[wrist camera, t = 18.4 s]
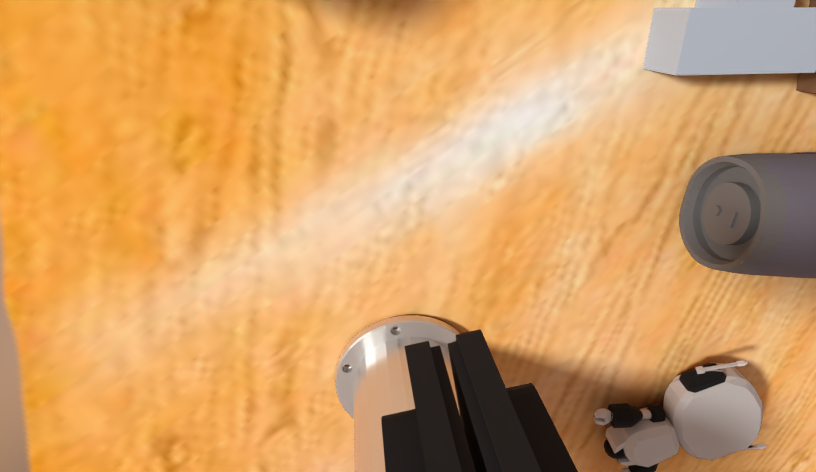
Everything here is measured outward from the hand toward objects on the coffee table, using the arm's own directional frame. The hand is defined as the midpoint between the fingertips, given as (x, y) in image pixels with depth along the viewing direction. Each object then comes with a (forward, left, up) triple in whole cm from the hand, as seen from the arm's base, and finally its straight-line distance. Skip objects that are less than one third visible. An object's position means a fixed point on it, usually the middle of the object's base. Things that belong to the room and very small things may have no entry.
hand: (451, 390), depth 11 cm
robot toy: (-34, -23, -28) cm, 49 cm away
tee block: (+4, -25, -27) cm, 37 cm away
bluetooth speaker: (-12, -33, -27) cm, 45 cm away
